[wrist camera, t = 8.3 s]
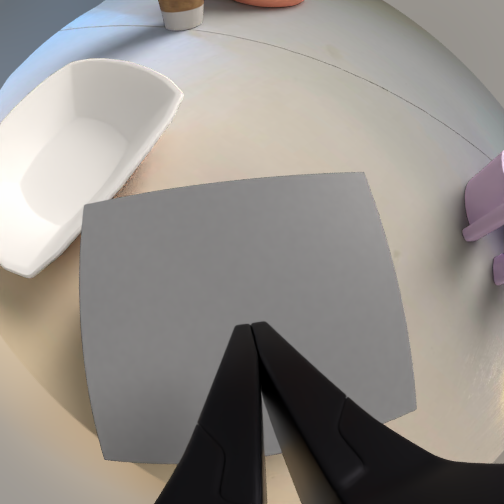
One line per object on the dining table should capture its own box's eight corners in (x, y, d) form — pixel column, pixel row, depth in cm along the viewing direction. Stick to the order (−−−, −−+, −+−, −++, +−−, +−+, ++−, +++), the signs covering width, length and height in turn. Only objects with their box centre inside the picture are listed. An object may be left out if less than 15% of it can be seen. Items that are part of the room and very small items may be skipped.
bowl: (219, 128, 25) (217, 86, 20) (69, 326, 18) (30, 318, 13) (88, 79, 27) (76, 50, 22) (-22, 207, 21) (-48, 188, 16)
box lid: (89, 210, 13) (83, 204, 12) (358, 179, 14) (364, 171, 14) (110, 455, 9) (103, 460, 9) (408, 407, 11) (417, 409, 10)
